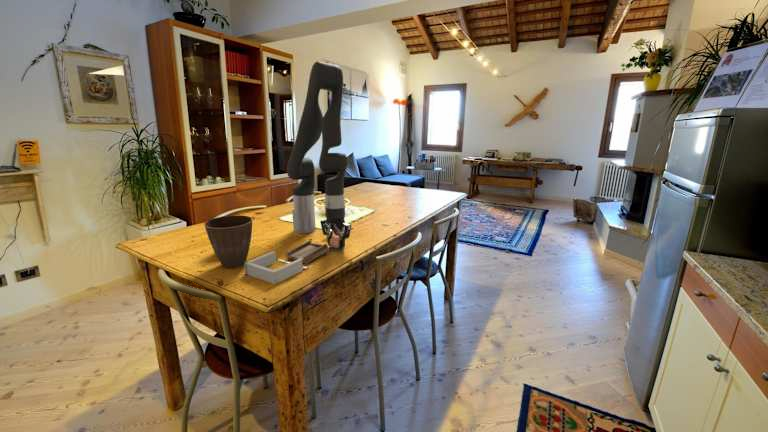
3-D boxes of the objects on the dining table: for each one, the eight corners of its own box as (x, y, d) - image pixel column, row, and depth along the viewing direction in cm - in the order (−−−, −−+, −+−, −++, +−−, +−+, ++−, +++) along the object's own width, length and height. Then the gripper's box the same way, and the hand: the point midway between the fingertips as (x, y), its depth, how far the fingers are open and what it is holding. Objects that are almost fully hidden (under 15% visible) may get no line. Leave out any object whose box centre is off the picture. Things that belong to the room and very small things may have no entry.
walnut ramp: (286, 259, 124) (285, 249, 123) (309, 249, 134) (308, 239, 133) (306, 265, 119) (305, 254, 118) (328, 254, 129) (328, 244, 128)
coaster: (325, 249, 133) (325, 248, 133) (335, 245, 138) (335, 244, 138) (337, 252, 130) (337, 251, 130) (347, 247, 135) (346, 246, 135)
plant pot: (261, 267, 117) (256, 223, 112) (213, 277, 109) (207, 230, 105) (251, 253, 129) (247, 213, 125) (208, 261, 121) (202, 219, 117)
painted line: (277, 260, 123) (277, 259, 123) (279, 259, 124) (279, 258, 123) (305, 268, 116) (305, 268, 116) (307, 267, 117) (307, 267, 117)
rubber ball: (327, 248, 133) (326, 236, 132) (335, 244, 137) (334, 233, 136) (337, 251, 131) (336, 238, 129) (345, 247, 135) (344, 235, 134)
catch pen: (245, 274, 112) (244, 262, 110) (273, 261, 121) (273, 251, 120) (275, 284, 105) (274, 272, 104) (302, 270, 115) (301, 259, 113)
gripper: (314, 205, 130) (316, 246, 134) (343, 210, 123) (345, 253, 127) (326, 201, 136) (328, 241, 141) (355, 205, 129) (356, 247, 134)
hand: (336, 246), depth 134 cm, fingers closed on rubber ball, 5 cm apart
